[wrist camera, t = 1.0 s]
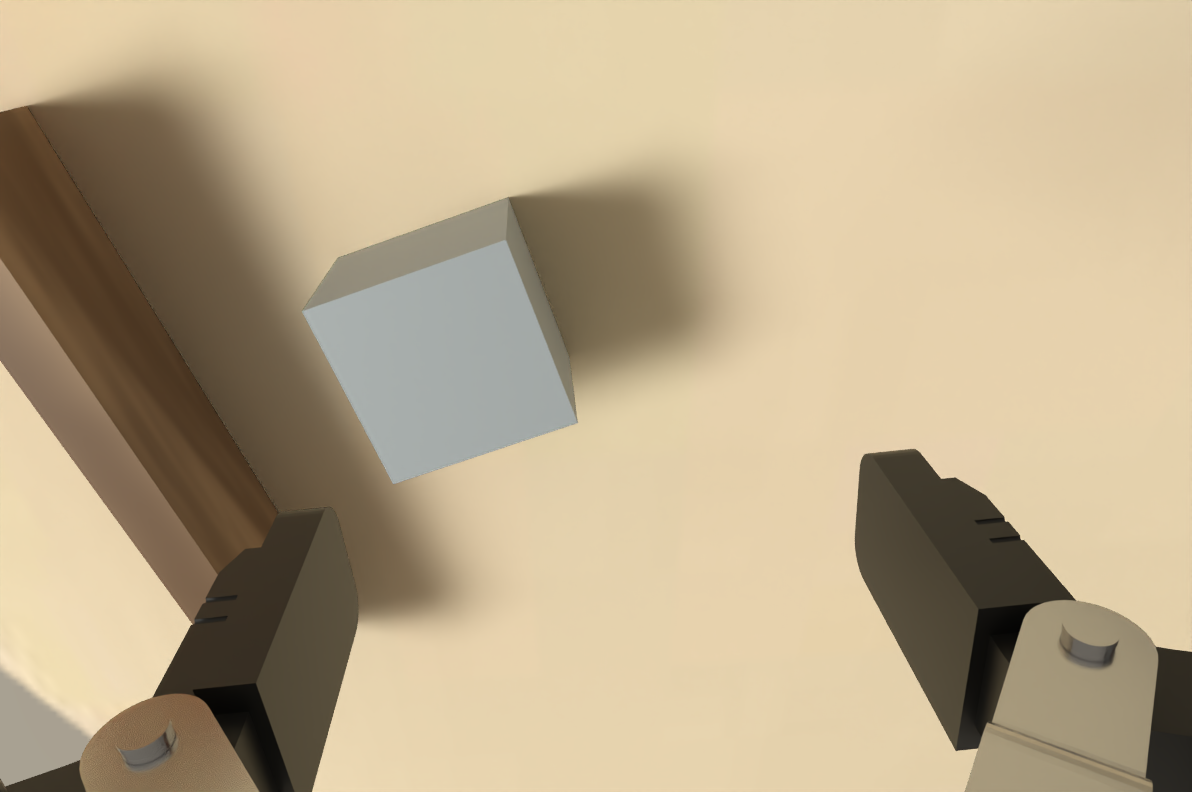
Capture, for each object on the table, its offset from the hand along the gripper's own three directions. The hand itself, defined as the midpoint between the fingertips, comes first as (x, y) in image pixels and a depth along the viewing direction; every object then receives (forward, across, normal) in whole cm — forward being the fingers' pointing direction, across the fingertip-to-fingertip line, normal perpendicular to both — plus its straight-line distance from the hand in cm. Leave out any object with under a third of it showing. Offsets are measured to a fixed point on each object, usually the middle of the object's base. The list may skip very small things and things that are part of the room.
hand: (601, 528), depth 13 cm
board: (+21, +16, +7) cm, 28 cm away
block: (+22, +5, +4) cm, 22 cm away
